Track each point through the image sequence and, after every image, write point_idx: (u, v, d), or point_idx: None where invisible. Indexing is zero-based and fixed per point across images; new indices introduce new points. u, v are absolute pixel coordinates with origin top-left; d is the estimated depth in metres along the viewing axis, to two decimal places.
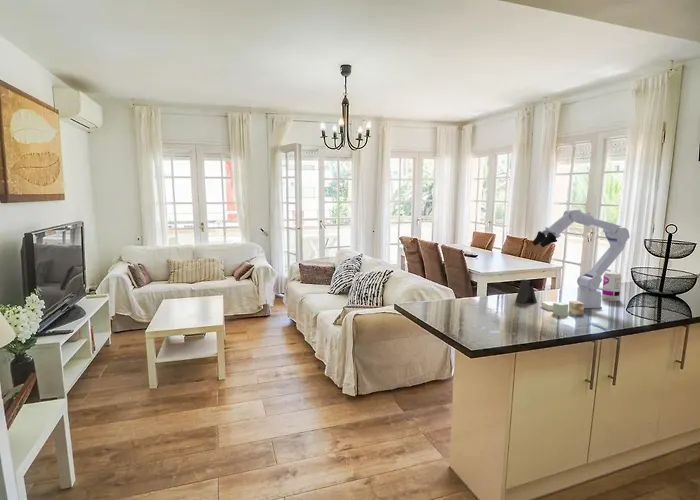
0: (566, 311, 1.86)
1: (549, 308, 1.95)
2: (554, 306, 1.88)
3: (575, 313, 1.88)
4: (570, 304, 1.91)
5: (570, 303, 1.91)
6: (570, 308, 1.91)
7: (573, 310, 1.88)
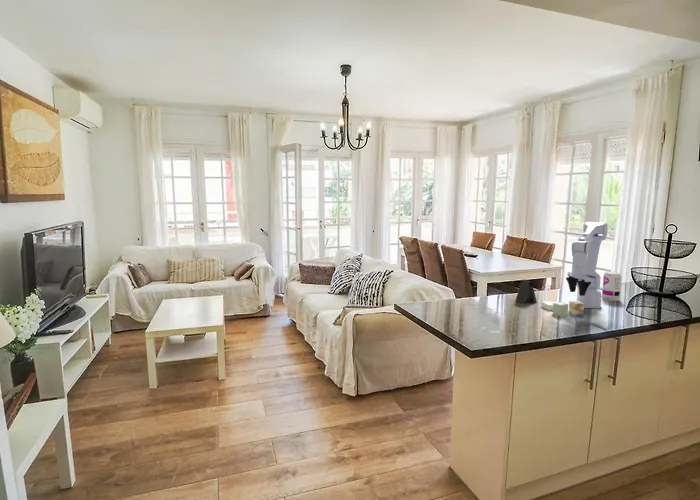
0: (566, 311, 1.86)
1: (549, 308, 1.95)
2: (554, 306, 1.88)
3: (575, 313, 1.88)
4: (570, 304, 1.91)
5: (570, 303, 1.91)
6: (570, 308, 1.91)
7: (573, 310, 1.88)
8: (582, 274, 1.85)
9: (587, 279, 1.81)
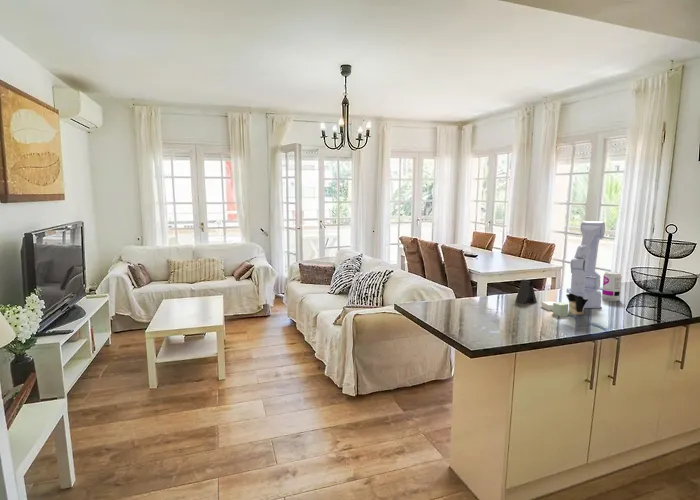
0: (566, 311, 1.86)
1: (549, 308, 1.95)
2: (554, 306, 1.88)
3: (575, 313, 1.88)
4: (570, 304, 1.91)
5: (570, 303, 1.91)
6: (570, 308, 1.91)
7: (573, 309, 1.88)
8: (581, 291, 1.86)
9: (586, 297, 1.82)
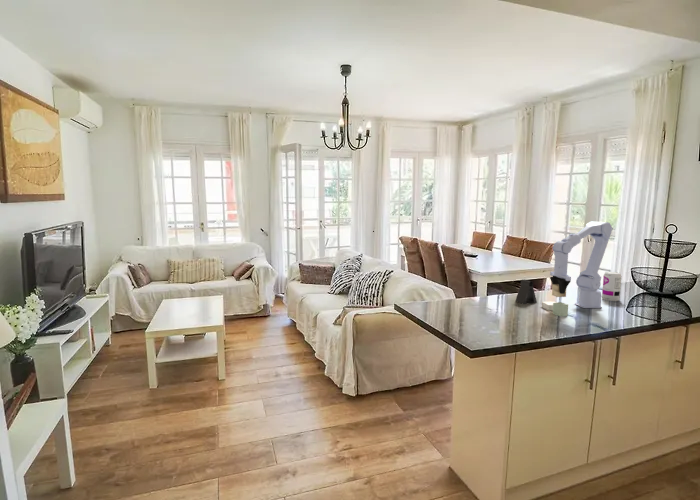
0: (566, 311, 1.86)
1: (548, 308, 1.95)
2: (554, 306, 1.88)
3: (558, 295, 1.93)
4: (553, 287, 1.96)
5: (553, 286, 1.96)
6: (553, 291, 1.96)
7: (556, 292, 1.94)
8: (563, 273, 1.91)
9: (568, 278, 1.87)
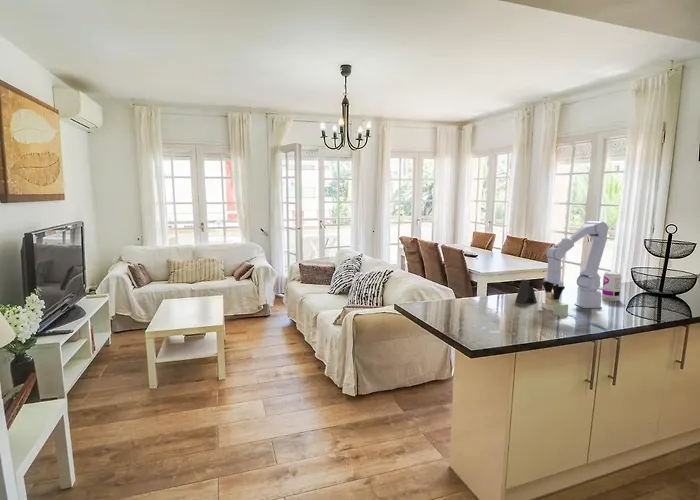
0: (566, 311, 1.86)
1: (548, 308, 1.95)
2: (554, 306, 1.88)
3: (551, 303, 1.96)
4: (546, 294, 1.99)
5: (546, 293, 1.99)
6: (546, 298, 1.99)
7: (549, 300, 1.97)
8: (556, 279, 1.94)
9: (561, 284, 1.90)
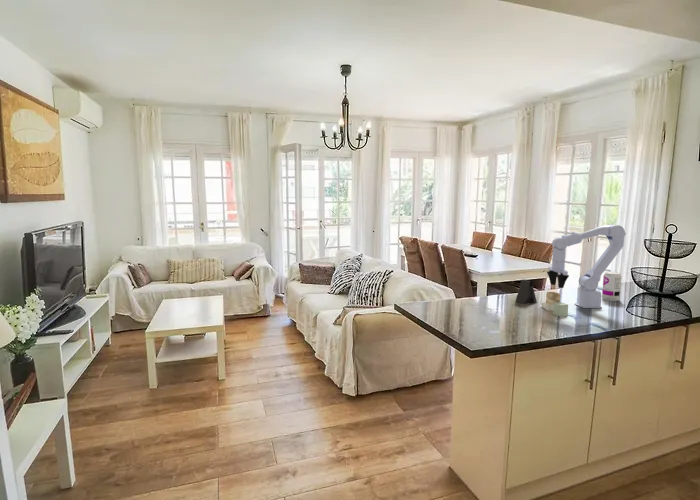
0: (566, 311, 1.86)
1: (548, 308, 1.95)
2: (554, 306, 1.88)
3: (552, 303, 1.96)
4: (547, 294, 1.99)
5: (547, 293, 1.99)
6: (547, 298, 1.99)
7: (550, 300, 1.97)
8: (561, 268, 2.01)
9: (565, 272, 1.96)
